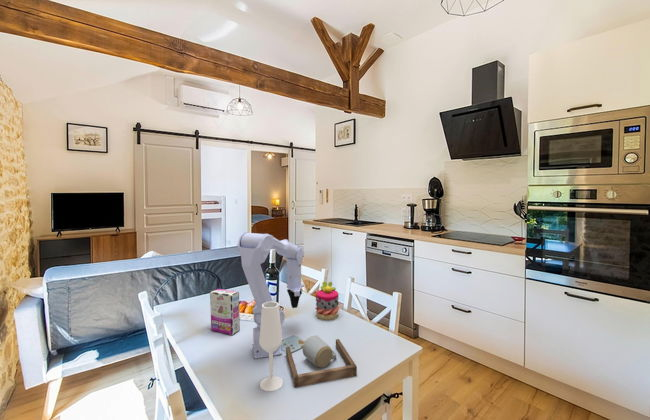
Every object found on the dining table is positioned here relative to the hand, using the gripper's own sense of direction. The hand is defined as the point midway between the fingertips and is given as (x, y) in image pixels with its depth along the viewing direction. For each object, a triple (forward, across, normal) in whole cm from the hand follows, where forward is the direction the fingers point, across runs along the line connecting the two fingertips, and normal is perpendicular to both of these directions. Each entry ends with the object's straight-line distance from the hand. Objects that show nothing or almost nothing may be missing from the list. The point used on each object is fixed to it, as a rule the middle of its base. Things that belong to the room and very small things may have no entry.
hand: (294, 307), depth 118 cm
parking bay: (+9, -26, -4) cm, 27 cm away
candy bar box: (+10, +7, +28) cm, 30 cm away
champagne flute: (+10, -31, +12) cm, 35 cm away
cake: (+10, +9, -16) cm, 21 cm away
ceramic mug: (+10, -24, -5) cm, 26 cm away
